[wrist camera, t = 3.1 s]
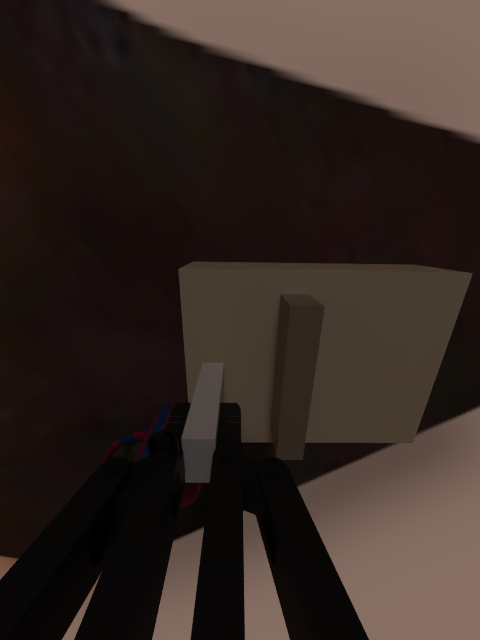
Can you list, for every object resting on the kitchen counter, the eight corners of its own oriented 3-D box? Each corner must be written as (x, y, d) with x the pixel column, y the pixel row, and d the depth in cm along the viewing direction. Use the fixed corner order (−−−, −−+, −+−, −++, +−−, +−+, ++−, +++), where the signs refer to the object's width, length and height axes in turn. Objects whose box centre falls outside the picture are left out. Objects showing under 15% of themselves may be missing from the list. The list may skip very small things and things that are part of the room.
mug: (206, 451, 28) (197, 514, 22) (123, 441, 27) (88, 503, 21) (214, 407, 26) (206, 463, 19) (124, 395, 25) (85, 449, 19)
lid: (192, 436, 21) (184, 474, 18) (180, 268, 16) (165, 276, 12) (408, 437, 21) (440, 475, 18) (464, 272, 16) (524, 280, 13)
